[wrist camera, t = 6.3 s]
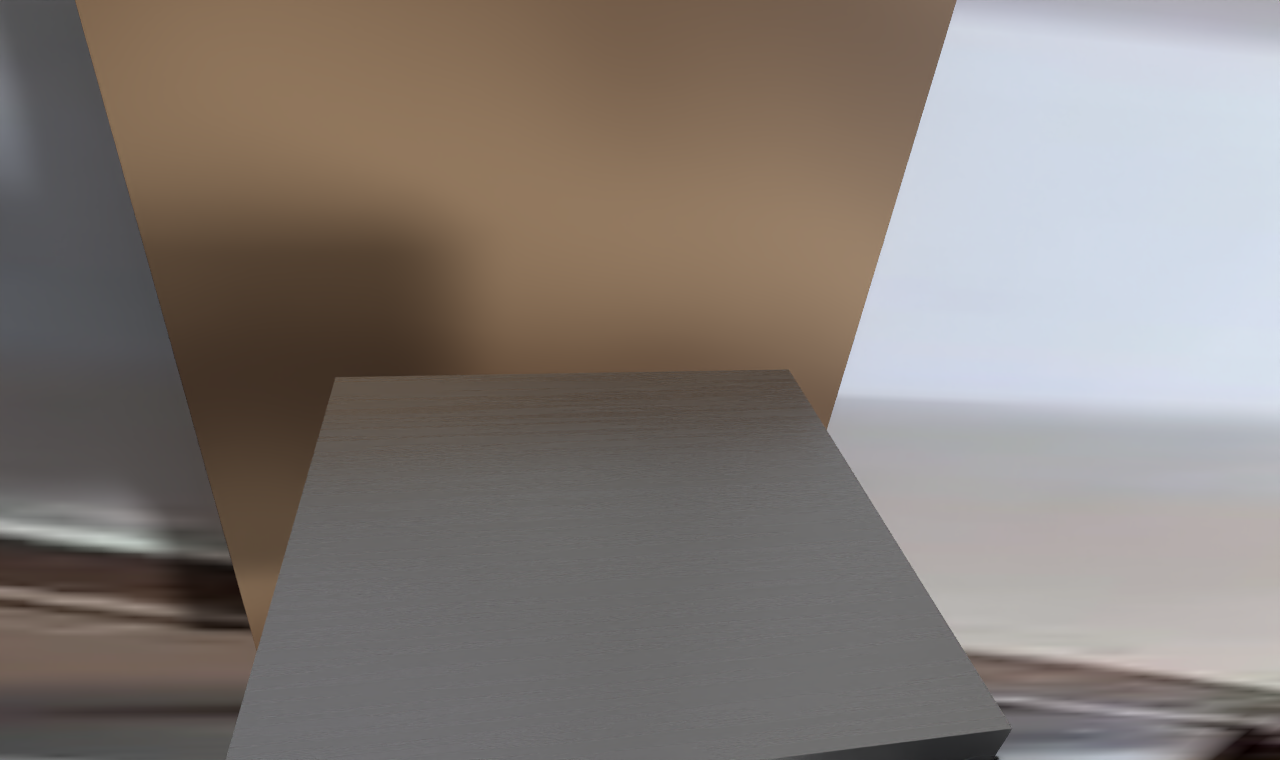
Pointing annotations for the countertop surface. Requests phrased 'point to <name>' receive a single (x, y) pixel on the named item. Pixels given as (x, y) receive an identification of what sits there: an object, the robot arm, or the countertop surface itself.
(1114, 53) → the countertop surface
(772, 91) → the stand
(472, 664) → the block
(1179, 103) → the countertop surface
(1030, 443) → the countertop surface
